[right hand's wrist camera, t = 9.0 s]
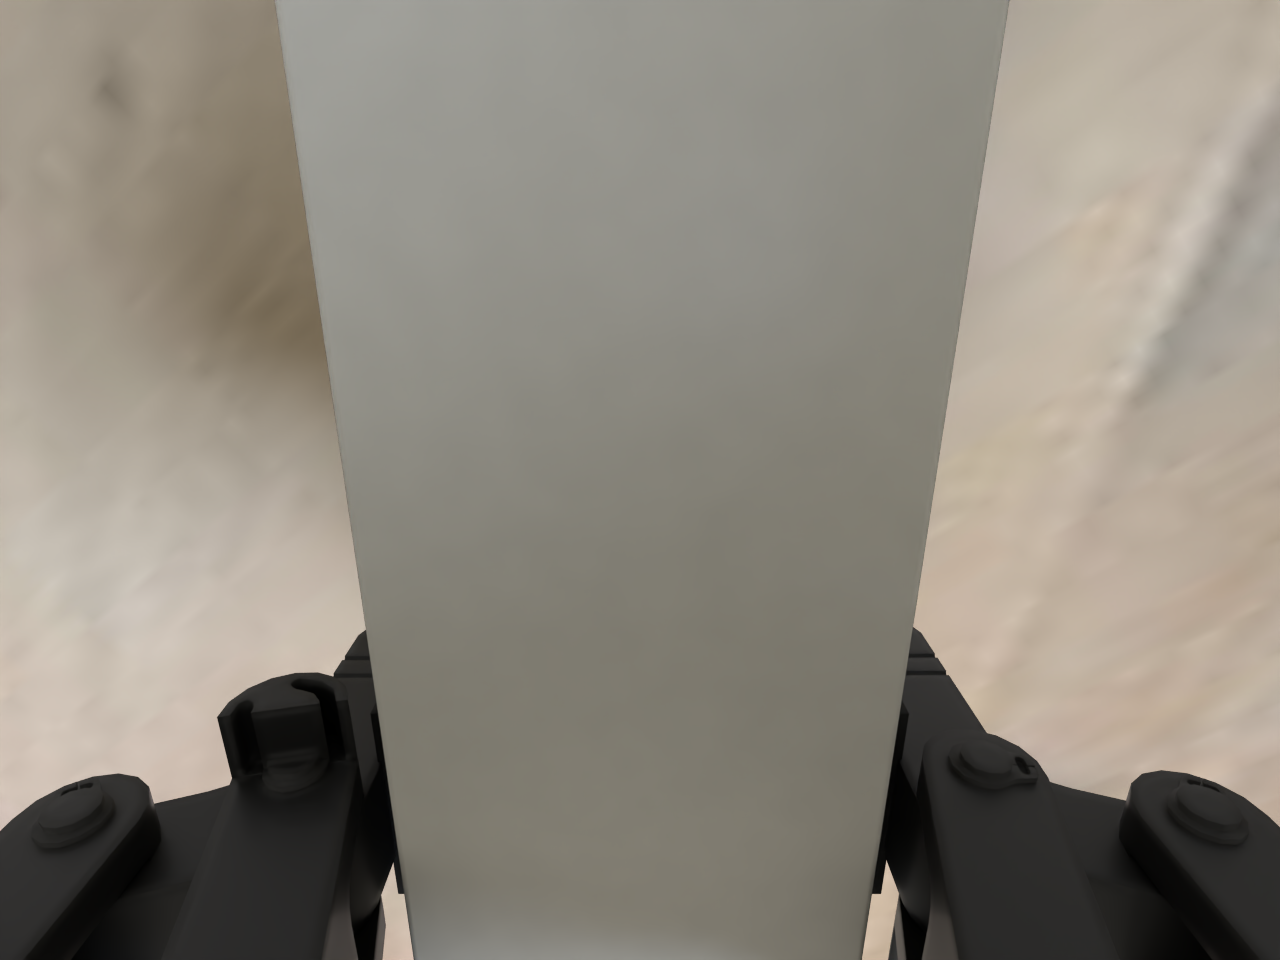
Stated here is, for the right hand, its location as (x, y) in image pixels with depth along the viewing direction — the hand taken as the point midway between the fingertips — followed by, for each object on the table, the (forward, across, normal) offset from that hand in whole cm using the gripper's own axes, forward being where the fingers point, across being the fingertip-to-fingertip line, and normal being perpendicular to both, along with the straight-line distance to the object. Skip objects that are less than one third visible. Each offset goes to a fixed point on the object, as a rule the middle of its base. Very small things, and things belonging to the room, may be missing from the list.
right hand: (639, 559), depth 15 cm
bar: (+1, 0, -22) cm, 23 cm away
